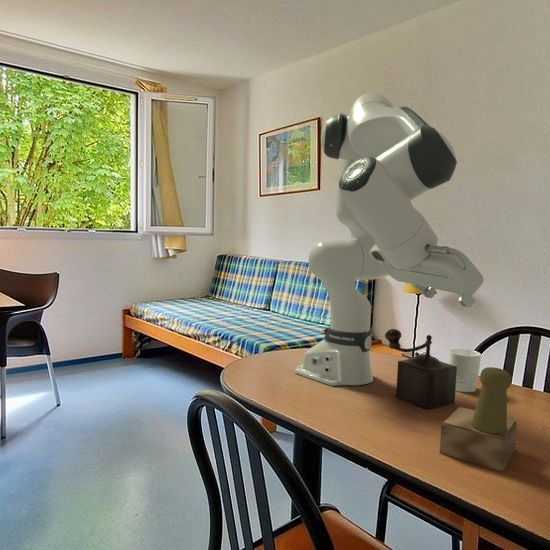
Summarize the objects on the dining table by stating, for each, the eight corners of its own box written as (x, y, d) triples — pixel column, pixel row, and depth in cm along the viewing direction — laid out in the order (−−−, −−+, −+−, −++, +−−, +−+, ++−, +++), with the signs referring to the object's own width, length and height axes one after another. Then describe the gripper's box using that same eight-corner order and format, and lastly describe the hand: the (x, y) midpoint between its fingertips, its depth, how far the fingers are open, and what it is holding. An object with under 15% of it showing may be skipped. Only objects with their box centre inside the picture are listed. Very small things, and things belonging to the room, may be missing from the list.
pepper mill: (420, 389, 126) (424, 323, 125) (456, 403, 117) (460, 331, 115) (378, 399, 118) (381, 328, 117) (412, 414, 109) (416, 337, 107)
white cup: (459, 382, 134) (461, 347, 133) (484, 390, 127) (487, 354, 126) (441, 386, 130) (443, 350, 129) (466, 395, 123) (469, 357, 122)
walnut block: (439, 452, 90) (441, 422, 90) (456, 433, 99) (458, 405, 98) (502, 471, 84) (504, 438, 83) (514, 449, 92) (517, 419, 92)
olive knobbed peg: (514, 433, 86) (523, 374, 84) (487, 435, 84) (495, 375, 83) (490, 419, 91) (497, 363, 90) (464, 420, 90) (471, 364, 88)
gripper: (466, 233, 71) (508, 296, 76) (384, 229, 90) (422, 279, 95) (441, 263, 70) (485, 325, 75) (363, 252, 88) (402, 302, 93)
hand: (449, 299), depth 85 cm, fingers open, 8 cm apart
